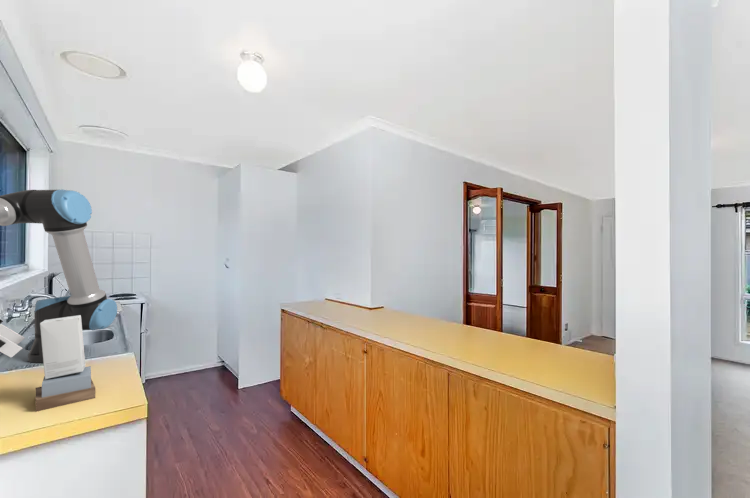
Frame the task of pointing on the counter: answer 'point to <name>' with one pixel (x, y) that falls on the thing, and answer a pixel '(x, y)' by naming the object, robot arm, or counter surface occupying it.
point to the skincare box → (62, 346)
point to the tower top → (67, 383)
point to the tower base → (63, 398)
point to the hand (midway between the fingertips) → (18, 347)
